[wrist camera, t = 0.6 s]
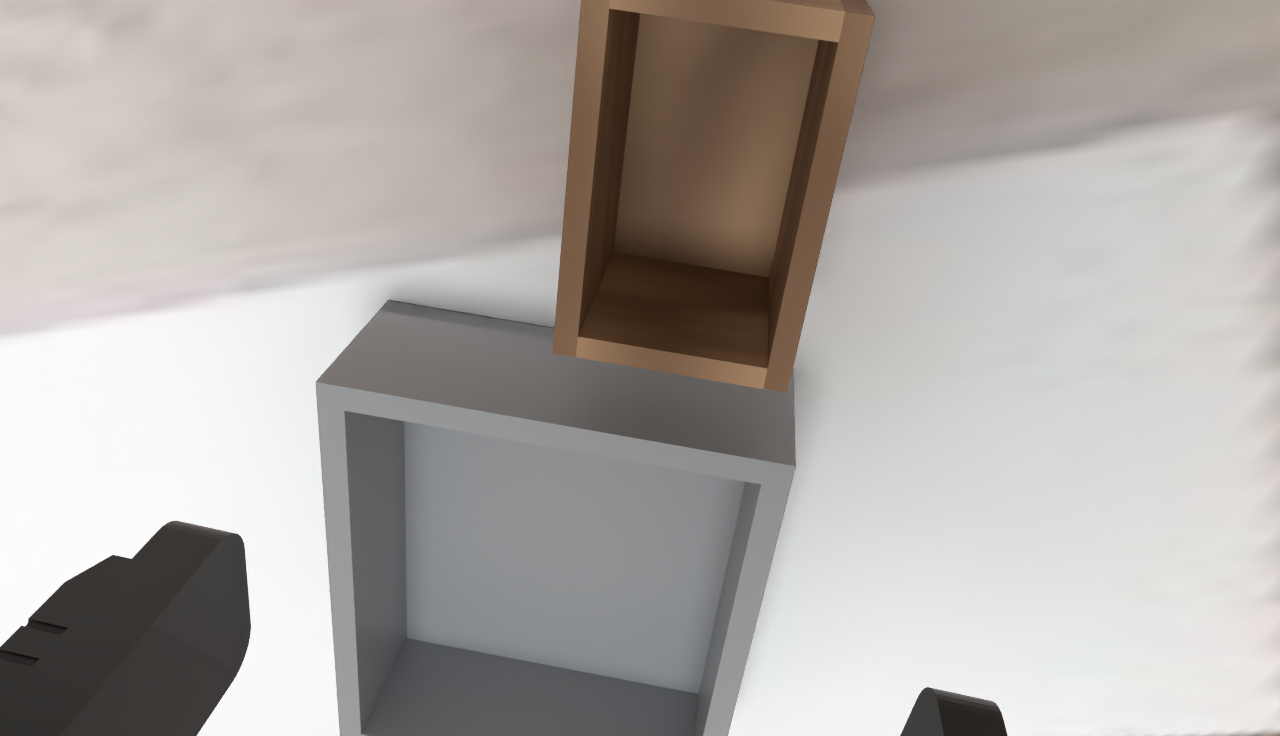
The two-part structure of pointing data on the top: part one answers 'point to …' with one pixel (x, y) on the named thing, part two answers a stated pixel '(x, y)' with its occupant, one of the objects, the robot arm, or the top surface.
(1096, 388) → the top surface
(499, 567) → the crate large
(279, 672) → the top surface
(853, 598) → the top surface
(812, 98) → the crate small
